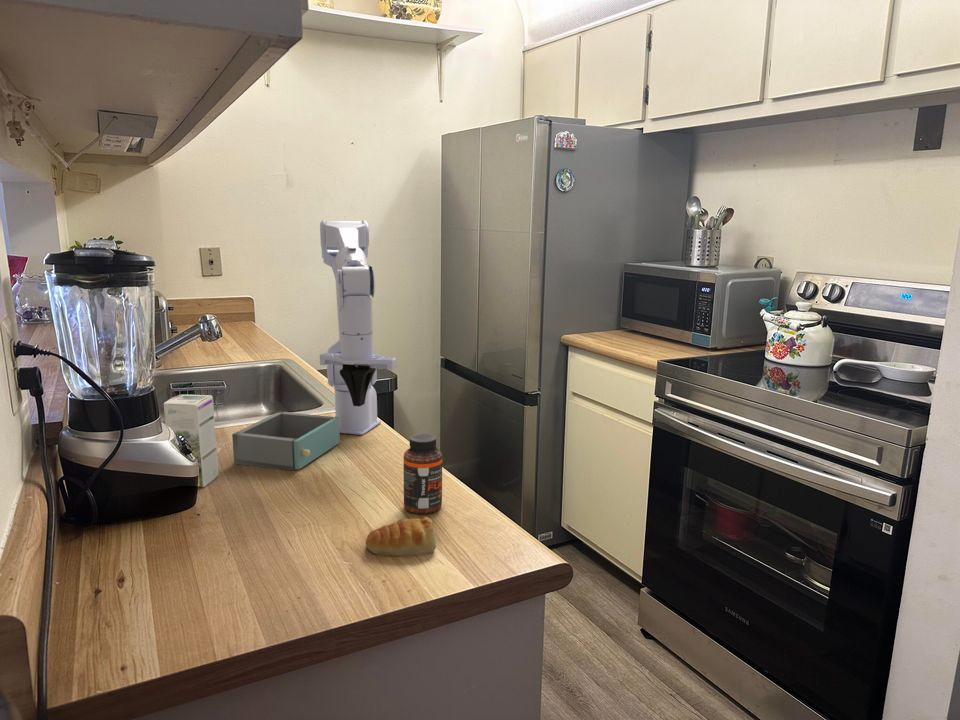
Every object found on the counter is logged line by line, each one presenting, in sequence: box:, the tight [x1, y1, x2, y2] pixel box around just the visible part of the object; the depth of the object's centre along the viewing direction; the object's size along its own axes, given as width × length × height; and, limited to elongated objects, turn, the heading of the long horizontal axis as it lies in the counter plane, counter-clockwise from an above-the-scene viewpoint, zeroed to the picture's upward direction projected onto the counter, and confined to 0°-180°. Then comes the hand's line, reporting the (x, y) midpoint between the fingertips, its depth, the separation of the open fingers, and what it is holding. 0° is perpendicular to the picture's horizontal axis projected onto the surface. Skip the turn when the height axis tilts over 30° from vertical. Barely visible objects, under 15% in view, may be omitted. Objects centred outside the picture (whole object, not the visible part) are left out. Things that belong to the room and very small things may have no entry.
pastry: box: [365, 516, 437, 557], centre depth 92 cm, size 9×7×4 cm
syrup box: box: [163, 393, 220, 488], centre depth 112 cm, size 6×6×14 cm
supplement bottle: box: [403, 433, 443, 515], centre depth 103 cm, size 6×6×11 cm
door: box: [294, 416, 341, 470], centre depth 125 cm, size 15×2×5 cm, turn 164°
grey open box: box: [231, 411, 335, 472], centre depth 127 cm, size 15×12×6 cm
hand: (358, 404), depth 126 cm, fingers closed
